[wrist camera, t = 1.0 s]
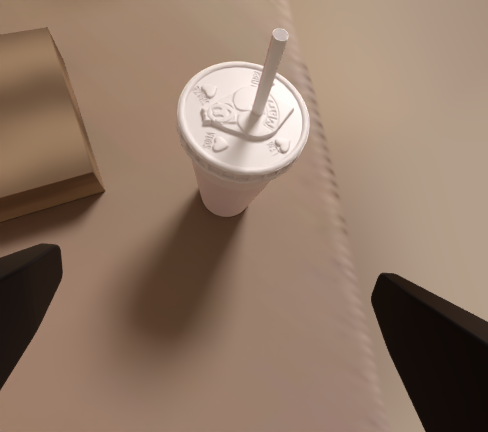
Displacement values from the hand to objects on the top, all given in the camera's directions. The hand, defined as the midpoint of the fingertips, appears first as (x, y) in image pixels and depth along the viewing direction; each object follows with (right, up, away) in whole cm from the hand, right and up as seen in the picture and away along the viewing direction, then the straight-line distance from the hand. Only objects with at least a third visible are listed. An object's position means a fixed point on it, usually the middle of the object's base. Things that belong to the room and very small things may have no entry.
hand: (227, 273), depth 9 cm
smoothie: (-1, +3, +15) cm, 16 cm away
